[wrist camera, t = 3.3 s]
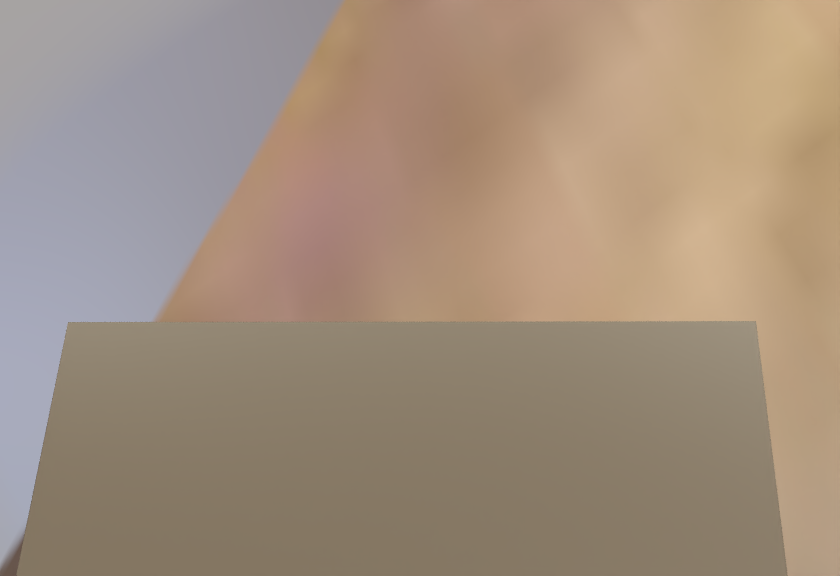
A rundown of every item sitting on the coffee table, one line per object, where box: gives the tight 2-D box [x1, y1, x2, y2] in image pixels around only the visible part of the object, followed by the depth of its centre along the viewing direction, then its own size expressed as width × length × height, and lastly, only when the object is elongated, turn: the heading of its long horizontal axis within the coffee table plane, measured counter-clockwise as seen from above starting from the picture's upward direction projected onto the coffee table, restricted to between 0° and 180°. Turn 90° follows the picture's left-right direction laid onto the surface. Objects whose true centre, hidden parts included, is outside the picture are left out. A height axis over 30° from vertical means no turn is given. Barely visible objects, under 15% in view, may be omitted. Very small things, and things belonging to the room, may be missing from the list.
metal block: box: [16, 321, 788, 576], centre depth 9 cm, size 4×4×12 cm
